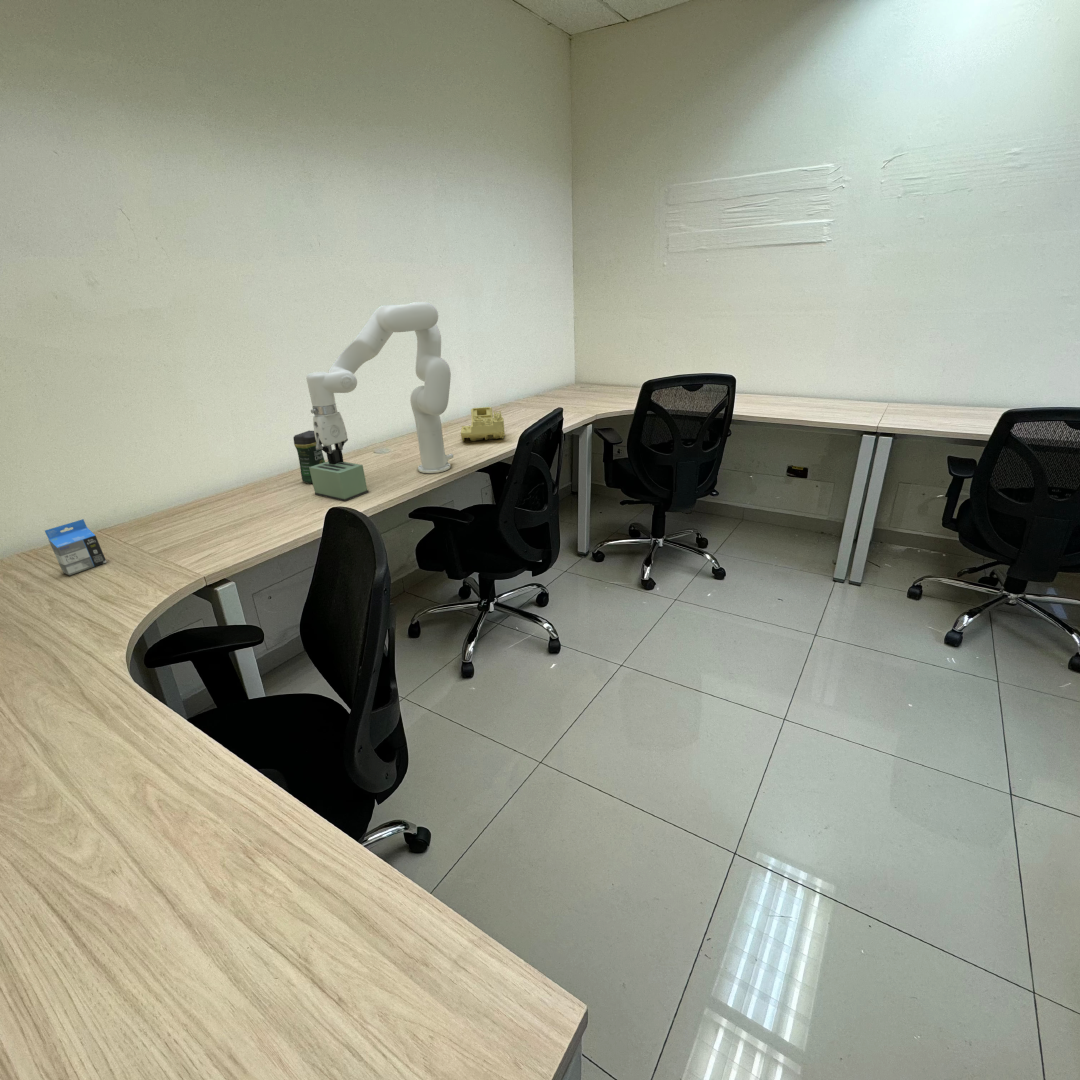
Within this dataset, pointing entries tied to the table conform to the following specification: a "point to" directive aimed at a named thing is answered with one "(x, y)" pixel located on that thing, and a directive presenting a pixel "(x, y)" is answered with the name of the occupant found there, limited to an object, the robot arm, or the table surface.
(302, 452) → the coffee jar
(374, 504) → the table surface
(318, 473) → the toaster
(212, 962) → the table surface
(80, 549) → the tape cartridge
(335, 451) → the slider
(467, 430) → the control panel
